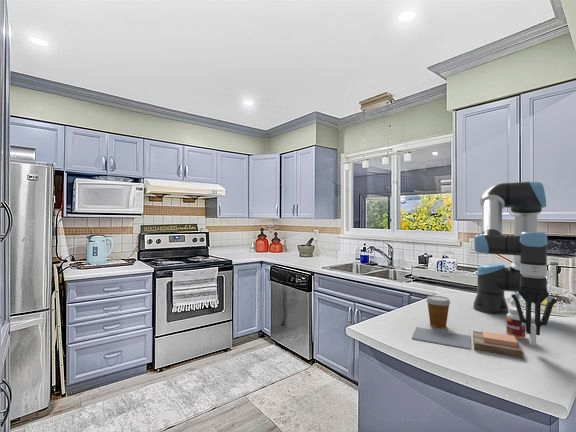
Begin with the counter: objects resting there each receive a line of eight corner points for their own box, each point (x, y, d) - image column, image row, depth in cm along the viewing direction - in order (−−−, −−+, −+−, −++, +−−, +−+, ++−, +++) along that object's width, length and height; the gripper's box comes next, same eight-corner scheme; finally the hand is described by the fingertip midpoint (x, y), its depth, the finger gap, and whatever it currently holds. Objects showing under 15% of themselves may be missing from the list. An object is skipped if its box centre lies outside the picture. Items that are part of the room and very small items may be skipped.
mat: (416, 328, 137) (416, 327, 137) (470, 336, 128) (470, 335, 128) (411, 339, 125) (411, 338, 125) (470, 349, 115) (470, 348, 115)
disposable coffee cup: (422, 325, 140) (423, 298, 140) (430, 320, 147) (430, 294, 147) (446, 331, 134) (446, 302, 134) (453, 325, 141) (453, 298, 141)
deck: (473, 337, 127) (473, 330, 127) (516, 344, 120) (516, 337, 120) (474, 350, 115) (474, 343, 115) (522, 358, 108) (522, 351, 108)
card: (482, 335, 123) (482, 331, 123) (514, 339, 118) (514, 335, 118) (483, 341, 116) (483, 337, 116) (517, 346, 112) (517, 342, 112)
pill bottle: (503, 335, 129) (503, 307, 129) (511, 332, 132) (511, 305, 132) (520, 340, 124) (520, 312, 124) (528, 337, 127) (528, 309, 127)
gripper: (512, 276, 112) (511, 343, 112) (560, 279, 106) (559, 351, 106) (509, 272, 119) (508, 336, 119) (554, 276, 113) (553, 343, 113)
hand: (532, 343), depth 112 cm, fingers closed
